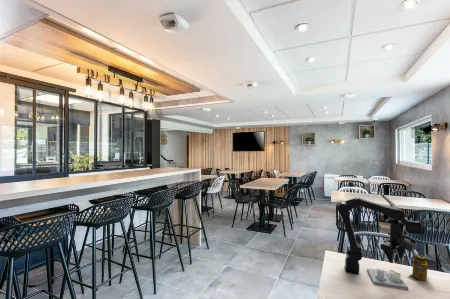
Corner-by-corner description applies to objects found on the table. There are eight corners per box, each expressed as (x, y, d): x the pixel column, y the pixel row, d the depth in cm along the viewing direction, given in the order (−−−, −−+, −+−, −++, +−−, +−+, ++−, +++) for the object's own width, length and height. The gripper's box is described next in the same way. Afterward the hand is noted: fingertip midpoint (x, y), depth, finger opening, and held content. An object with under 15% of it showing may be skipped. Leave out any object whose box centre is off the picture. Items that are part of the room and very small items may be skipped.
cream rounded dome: (384, 275, 126) (384, 269, 126) (389, 273, 129) (389, 267, 129) (399, 282, 120) (400, 276, 120) (405, 280, 122) (405, 274, 122)
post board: (373, 283, 121) (373, 273, 121) (366, 270, 134) (367, 261, 133) (408, 289, 117) (408, 278, 116) (397, 275, 129) (398, 265, 129)
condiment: (429, 279, 125) (430, 257, 125) (424, 284, 121) (425, 262, 120) (413, 272, 131) (414, 252, 131) (407, 277, 127) (408, 256, 126)
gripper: (404, 241, 112) (403, 272, 112) (423, 233, 120) (422, 263, 121) (379, 232, 122) (379, 262, 122) (399, 226, 130) (398, 254, 131)
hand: (395, 260), depth 124 cm, fingers open, 9 cm apart
